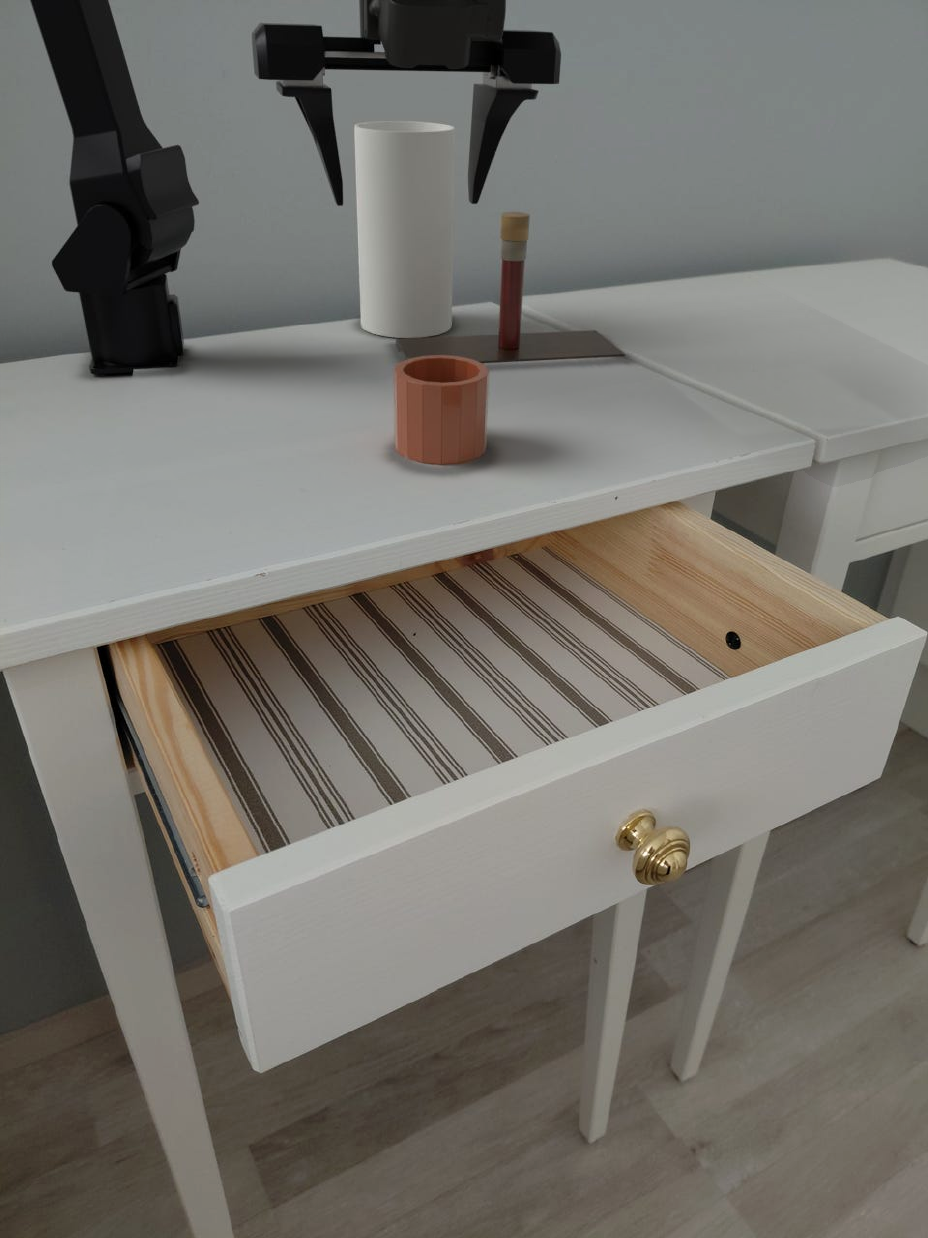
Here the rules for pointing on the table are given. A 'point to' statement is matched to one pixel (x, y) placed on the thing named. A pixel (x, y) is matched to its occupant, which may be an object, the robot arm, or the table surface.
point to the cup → (405, 226)
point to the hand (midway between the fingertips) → (407, 203)
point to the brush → (512, 277)
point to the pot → (441, 409)
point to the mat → (529, 350)
